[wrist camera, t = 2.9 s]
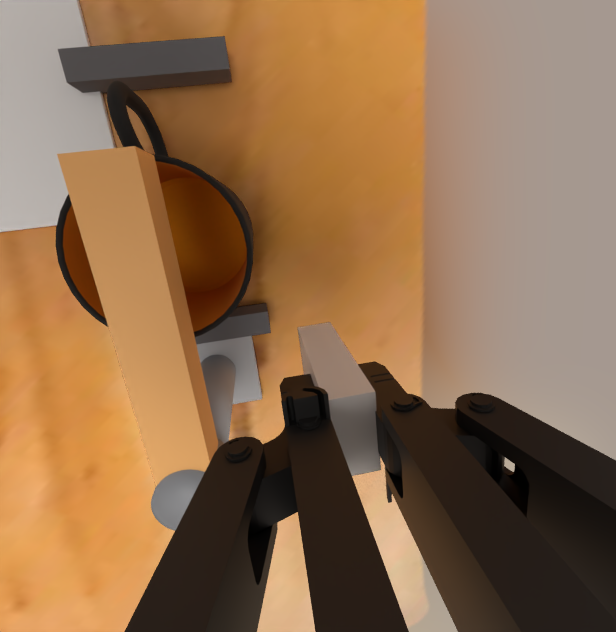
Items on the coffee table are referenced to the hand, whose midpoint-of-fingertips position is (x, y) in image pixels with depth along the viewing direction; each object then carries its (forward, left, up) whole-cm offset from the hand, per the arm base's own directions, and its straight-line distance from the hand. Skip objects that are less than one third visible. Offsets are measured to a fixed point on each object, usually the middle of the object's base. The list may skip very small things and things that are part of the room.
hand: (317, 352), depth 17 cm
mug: (-7, -6, -12) cm, 15 cm away
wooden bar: (-1, -6, -1) cm, 7 cm away
